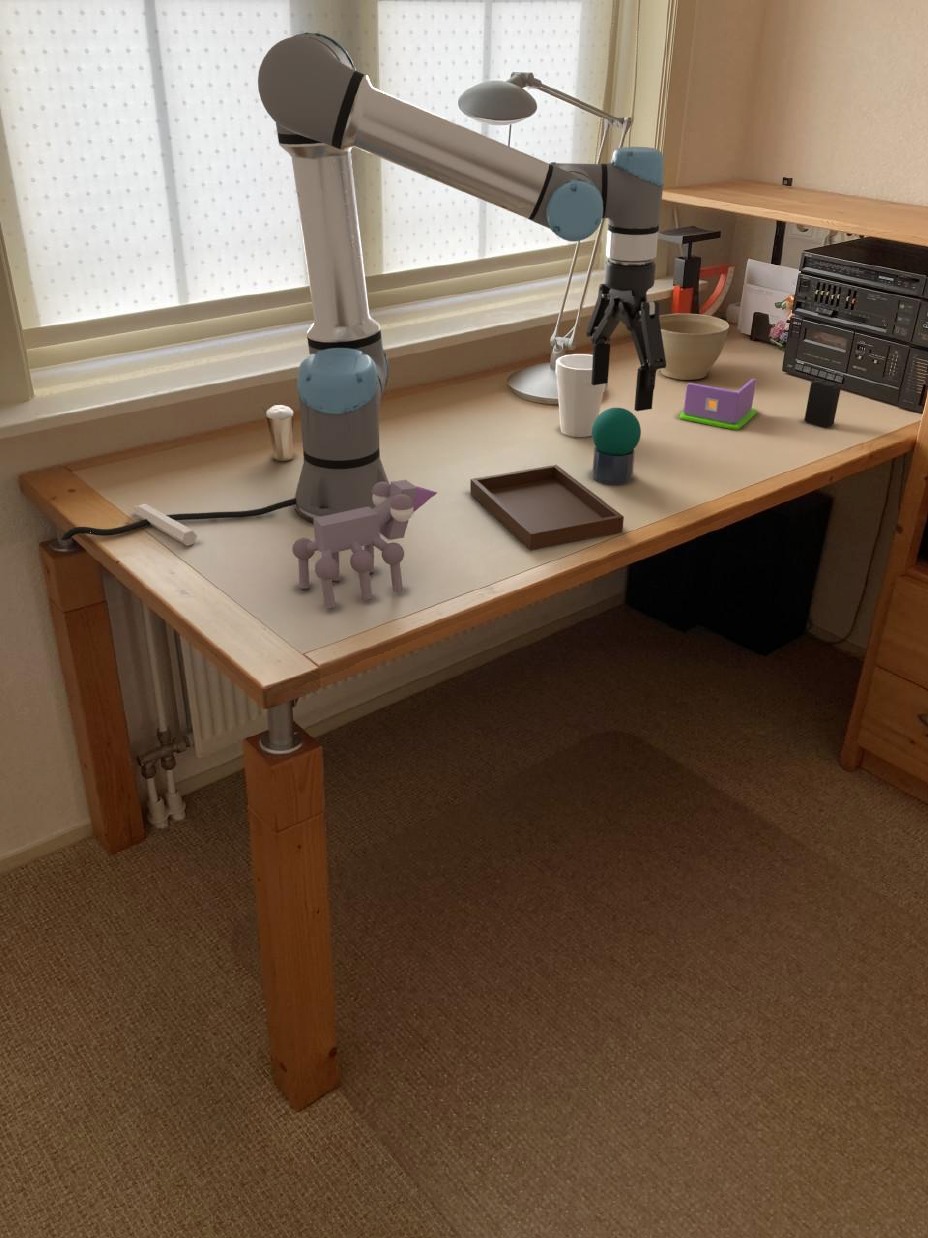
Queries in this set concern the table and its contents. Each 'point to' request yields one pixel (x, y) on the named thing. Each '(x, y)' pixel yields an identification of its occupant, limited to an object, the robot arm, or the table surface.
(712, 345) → the planter bowl
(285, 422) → the milkshake
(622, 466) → the cup
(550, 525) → the tray
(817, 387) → the ink cartridge
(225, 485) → the table surface
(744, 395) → the toy room diorama
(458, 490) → the table surface
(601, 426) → the ball
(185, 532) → the marker
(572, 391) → the foam cup
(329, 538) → the toy sheep
